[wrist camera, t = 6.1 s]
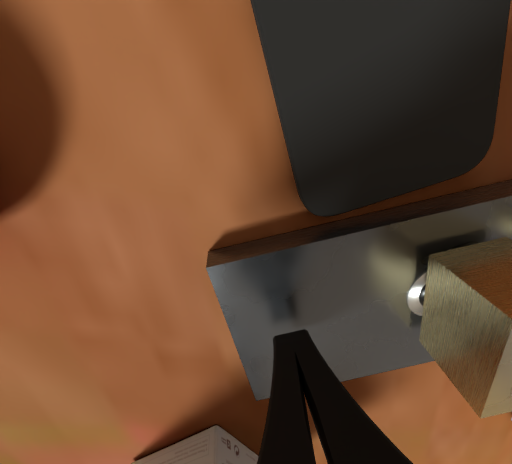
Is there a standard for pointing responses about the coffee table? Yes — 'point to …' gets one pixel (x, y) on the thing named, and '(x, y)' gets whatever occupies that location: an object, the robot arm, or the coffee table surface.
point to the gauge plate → (349, 282)
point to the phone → (382, 92)
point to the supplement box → (204, 450)
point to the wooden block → (472, 322)
